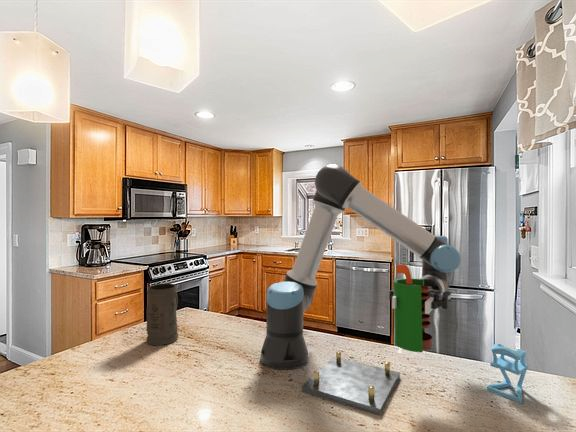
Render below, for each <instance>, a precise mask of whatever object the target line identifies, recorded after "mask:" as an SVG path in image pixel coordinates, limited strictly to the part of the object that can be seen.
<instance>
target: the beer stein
mask: <svg viewBox="0 0 576 432" xmlns="http://www.w3.org/2000/svg"><path fill="white" fill-rule="evenodd" d="M177 291H178V289H177V285H176V284H174V283H158V284H153V285H150V286H148V287H147V290H146V294H147V299H146V300H147V304H146V334H147V337H146V342H147V344H148V345H151V346H165V345H169V344H171V343H174V342H175V341H177V340H178V338H179V333H178V329H179V328H178V319H177V317H178V316H177V309H178V303H179V298H178V297H179V296H178V292H177Z"/></svg>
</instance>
